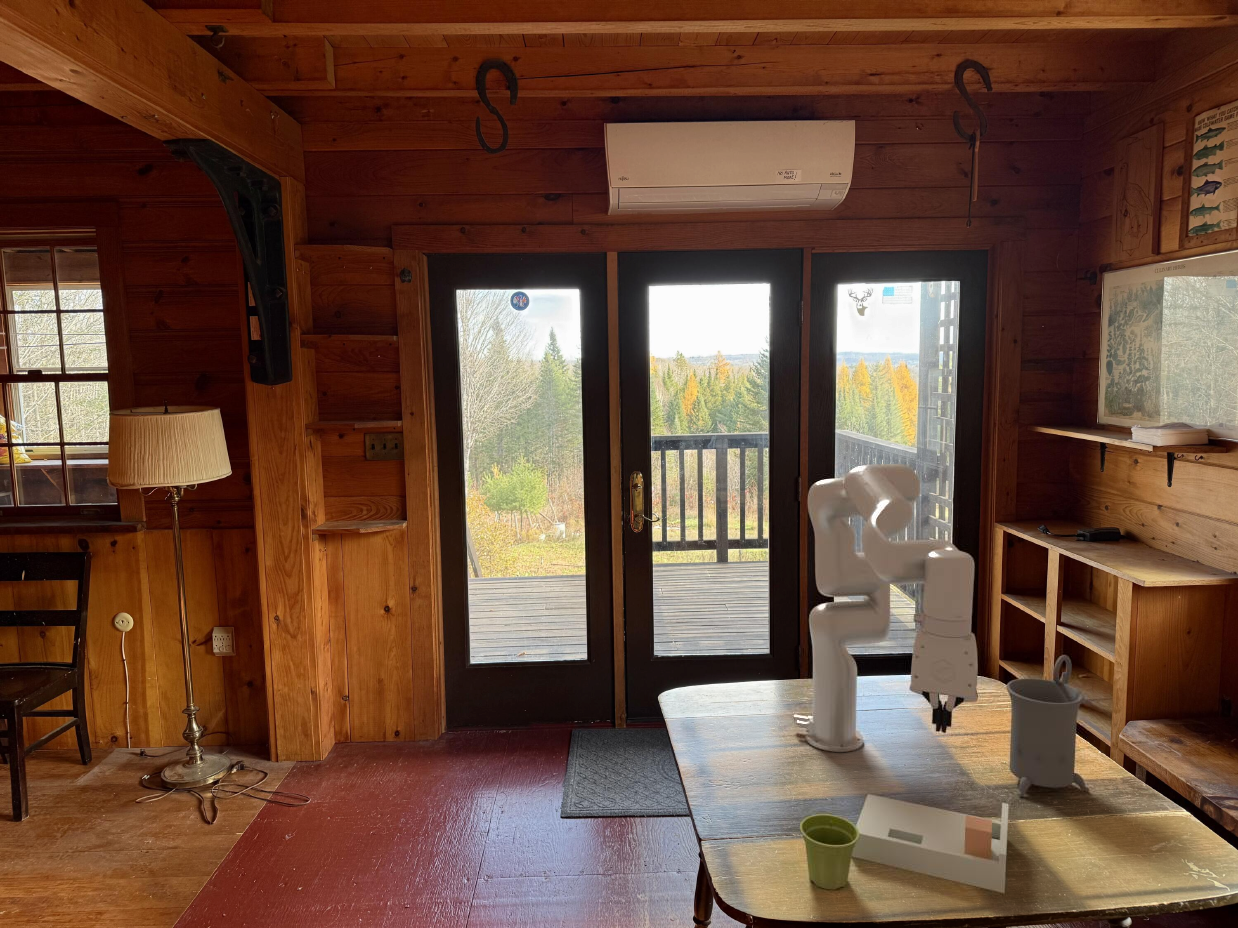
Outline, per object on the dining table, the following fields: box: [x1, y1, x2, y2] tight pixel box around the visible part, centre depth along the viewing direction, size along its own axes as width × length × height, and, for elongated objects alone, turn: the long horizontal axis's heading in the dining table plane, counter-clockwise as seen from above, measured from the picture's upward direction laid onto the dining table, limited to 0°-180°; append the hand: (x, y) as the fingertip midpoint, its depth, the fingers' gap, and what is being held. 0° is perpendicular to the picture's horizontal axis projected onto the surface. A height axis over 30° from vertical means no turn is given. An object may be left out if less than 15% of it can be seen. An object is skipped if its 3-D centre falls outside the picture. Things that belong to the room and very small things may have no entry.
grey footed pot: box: [1005, 654, 1090, 798], centre depth 165 cm, size 19×15×25 cm
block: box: [964, 815, 993, 860], centre depth 138 cm, size 4×4×5 cm
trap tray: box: [851, 793, 1009, 894], centre depth 144 cm, size 24×17×6 cm
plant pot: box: [799, 813, 859, 891], centre depth 136 cm, size 9×9×9 cm
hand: (941, 728), depth 140 cm, fingers closed
